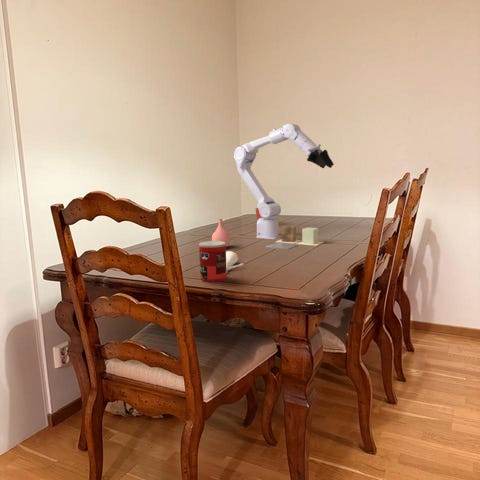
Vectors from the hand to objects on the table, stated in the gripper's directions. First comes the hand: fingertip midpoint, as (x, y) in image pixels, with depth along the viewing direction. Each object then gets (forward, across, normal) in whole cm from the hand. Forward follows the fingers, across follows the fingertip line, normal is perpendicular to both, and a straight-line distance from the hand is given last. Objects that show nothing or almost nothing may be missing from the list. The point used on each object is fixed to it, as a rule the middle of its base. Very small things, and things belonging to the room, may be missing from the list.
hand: (328, 166), depth 179 cm
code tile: (+17, -5, +28) cm, 33 cm away
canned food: (+16, -70, +29) cm, 77 cm away
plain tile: (+9, -5, +34) cm, 36 cm away
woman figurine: (+12, -56, +33) cm, 66 cm away
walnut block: (+9, -5, +34) cm, 36 cm away
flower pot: (-14, +30, +56) cm, 65 cm away
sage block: (+17, -5, +27) cm, 32 cm away
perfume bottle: (-4, -30, +46) cm, 55 cm away
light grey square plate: (+12, -17, +32) cm, 38 cm away
